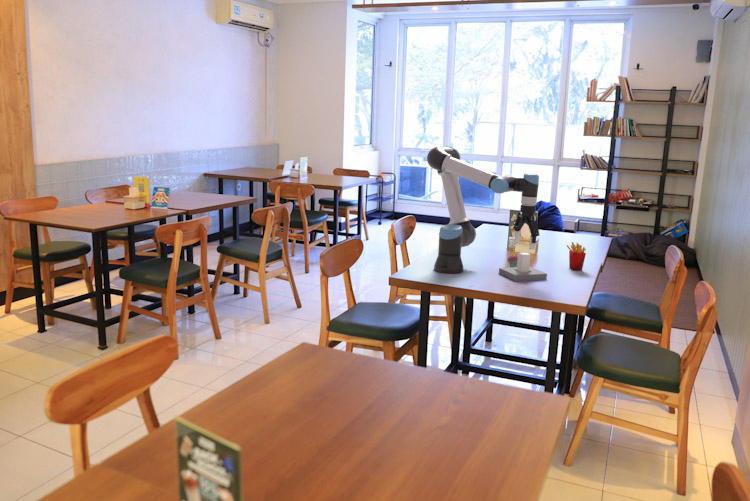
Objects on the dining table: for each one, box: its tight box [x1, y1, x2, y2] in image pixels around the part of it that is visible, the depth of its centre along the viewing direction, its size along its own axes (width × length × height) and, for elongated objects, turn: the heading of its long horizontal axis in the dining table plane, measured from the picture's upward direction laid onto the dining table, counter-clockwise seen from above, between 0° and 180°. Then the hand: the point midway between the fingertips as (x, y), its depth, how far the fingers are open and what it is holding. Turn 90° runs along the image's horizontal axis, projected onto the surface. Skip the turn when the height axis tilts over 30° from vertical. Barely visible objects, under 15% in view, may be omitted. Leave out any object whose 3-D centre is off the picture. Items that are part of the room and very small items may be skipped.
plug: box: [517, 252, 531, 273], centre depth 325 cm, size 4×4×12 cm
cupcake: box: [507, 246, 518, 267], centre depth 342 cm, size 9×8×12 cm
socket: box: [498, 266, 548, 282], centre depth 326 cm, size 18×16×3 cm
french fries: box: [566, 241, 587, 272], centre depth 343 cm, size 9×8×15 cm
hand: (524, 246), depth 323 cm, fingers open, 13 cm apart
